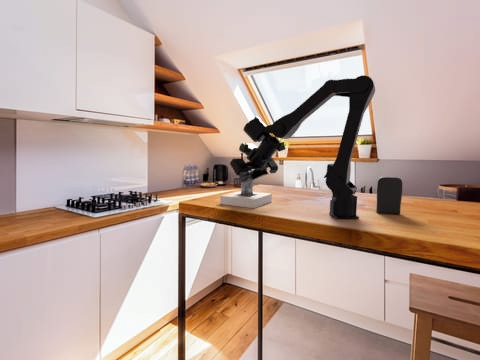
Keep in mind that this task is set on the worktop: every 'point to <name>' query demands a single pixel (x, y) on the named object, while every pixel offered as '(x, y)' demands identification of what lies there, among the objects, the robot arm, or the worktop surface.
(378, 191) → the battery
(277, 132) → the robot arm
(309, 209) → the worktop surface
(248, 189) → the translucent grey tall cylinder
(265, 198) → the hole block
